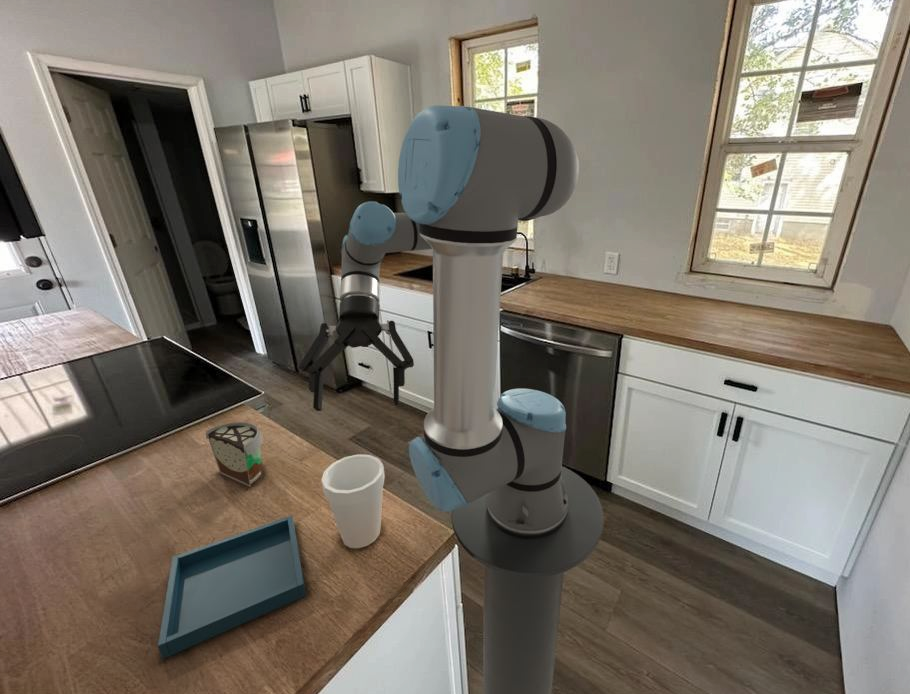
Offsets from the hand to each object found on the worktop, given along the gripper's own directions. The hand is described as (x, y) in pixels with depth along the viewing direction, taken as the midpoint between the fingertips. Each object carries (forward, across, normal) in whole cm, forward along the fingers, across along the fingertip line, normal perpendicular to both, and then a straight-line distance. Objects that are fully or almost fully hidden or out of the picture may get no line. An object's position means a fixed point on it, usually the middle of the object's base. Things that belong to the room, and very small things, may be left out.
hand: (357, 406), depth 74 cm
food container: (+7, +24, -21) cm, 33 cm away
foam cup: (+21, 0, -6) cm, 22 cm away
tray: (+26, +17, -1) cm, 31 cm away
